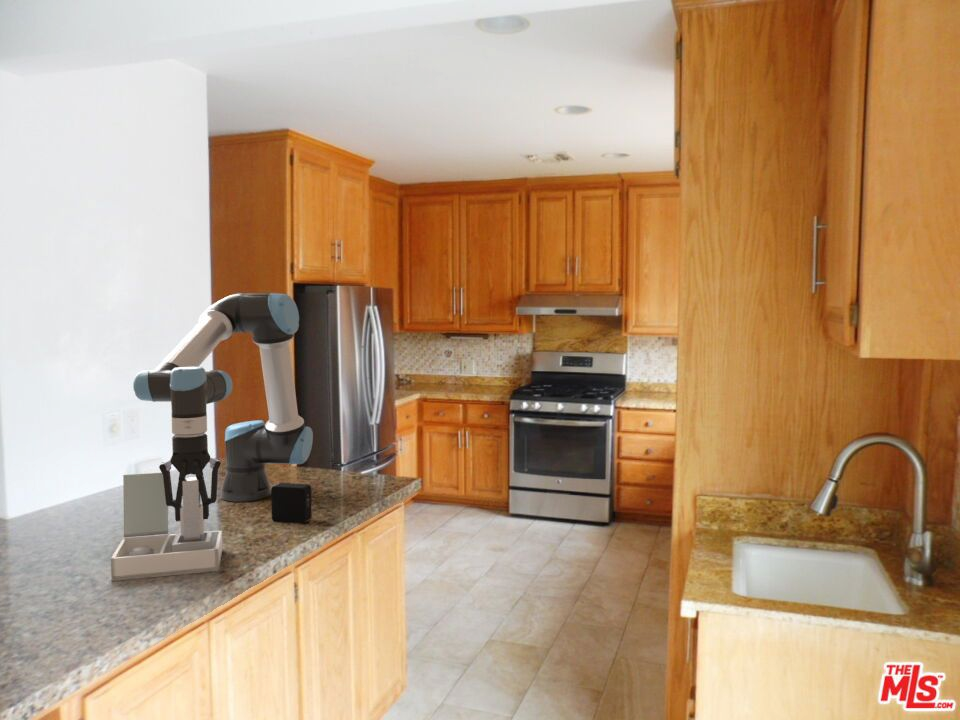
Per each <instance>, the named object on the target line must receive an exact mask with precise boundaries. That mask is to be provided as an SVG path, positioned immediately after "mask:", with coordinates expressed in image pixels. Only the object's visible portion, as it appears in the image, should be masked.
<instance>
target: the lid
mask: <svg viewBox="0 0 960 720" xmlns="http://www.w3.org/2000/svg"><path fill="white" fill-rule="evenodd" d="M122 478H123V481H122V482H123V485H122V487H123V538H133V537H145V536H158V535H169V506H167V505H166V499H165V490H164V481H163V474H162V472H147V473H133V474H132V473H131V474H130V473H129V474H128V473H127V474H123V475H122Z"/></svg>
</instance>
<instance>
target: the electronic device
mask: <svg viewBox="0 0 960 720" xmlns="http://www.w3.org/2000/svg"><path fill="white" fill-rule="evenodd" d="M270 496H271V497H270V498H271V502H270V503H271V521H272V522H274V523H276V522H277V523H288V524H298V525H299V524H300V525H301V524H305V523H306V522H308V521H309V520H311V519H312V486H311V484H307V483H304V484H303V483H290V482H289V483H288V482H280V483H276V484H275V485H273V486H271V495H270Z"/></svg>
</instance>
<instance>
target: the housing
mask: <svg viewBox="0 0 960 720" xmlns="http://www.w3.org/2000/svg"><path fill="white" fill-rule="evenodd" d="M201 538H202V541H195V542H184V536H181V532H180V533H173V534H172V533H171V534H161V535H149V536H136V537H123V538H122V539H121V541H120V543H119V545H118V546H117V548H116V549H115V551H114V553H113V554H112V556H111V557H110V570H111V571H110V574H111V582H115V581H117V582H118V581H127V580H136V579H138V580H140V579H147V578H148V579H149V578H157V577H168V576H170V577H171V576H179V575H190V574H200V573H211V572H212V573H213V572H219V571H220V567H221V561H222V560H221V559H222V555H223V551H224V550H223V549H224V548H223V530H204V534H202V535H201Z"/></svg>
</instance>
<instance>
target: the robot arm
mask: <svg viewBox="0 0 960 720" xmlns="http://www.w3.org/2000/svg"><path fill="white" fill-rule="evenodd" d="M299 313H300V312H299V309H298V306H297V303H296V302H295V300H294V299H293V298H292V297H291V296H290V295H289V294H286V293H277V292H262V293H261V292H258V293H257V292H256V293H253V292H252V293H251V292H249V293H245V292H239V293H238V292H237V293H234V294H230V295H228V296H225V297H224V298H222V299H220V300H218V301H217V302H214V303H213V304H211V305H210V306H209V307H208V308H207V309H206V310H205V311H203V313H202V314H201V315H200V317H199V318H198V323H197V324H196V325H195V326H194V328H193V329H192V330H191V331H190V332H189V333H188V334H187V335H186V336H185V337H184V338H183V339H182V340H181V341H180V342H179V344H177V345H176V347H175V348H174V349H172V351H171V352H170V353H169V354H168V355H167V356H166V357H165V358H164V359H163V361H161V363H159V365H157V366H156V367H155V369H153V370H152V369H147V370H141V371H139V372H138V373H137V374H136V375H135V377H134V380H133V383H132V384H133V387H132V388H133V391H134V394H135V397H136V398H138V399H139V400H140V401H146V402H153V403H155V402H158V403H161V402H162V403H163V402H164V403H165V402H166V403H167V402H168V403H169V402H171V403H170V405H171V406H170V407H171V433H172V434H173V436H172V438H171V439H172V440H171V441H172V443H171V444H172V456H171V458H170V460H167V461H165V462H164V461H163V462H161V463H160V464H159V466H158V468H159V470H160V473H162V474H163V481H164V490H165V499H166V505H167V506H168V507H173V508H174V516H175V517H174V518H175V519H174V520H175V521H176V522H180V533H181V536H184V517H183V485H182V481H184V480H185V478H187V476H188V475H195V477H196V478H197V480H199V491H200V501H201V503H200V507H199V515H200V535H202V534H204V531H205V520H209V516H210V506H209V505H211V504H214V503H216V502H217V498H218V484H219V483H218V479H219V478H218V476H219V469H220V466H221V463H222V460H221V459H219V458H218V459H216V458H213V457H211V455H210V454H209V450H208V448H209V447H208V435H207V434H206V433H207V431H208V415H207V405H208V404H212V403H219V402H221V401H222V400H224V399H226V398H227V397H229V396H230V394H231V393H232V392H233V381H232V380H233V379H232V378H231V376H230V375H229V374H228V373H227V372H225V371H224V370H215V369H214V370H213V369H211V370H209V371H206V370H205V368H204V367H201V364H203V362H204V361H205V360H206V359H207V358H208V357H209V355H210V354H211V353H212V352H213V351H214V350H215V348H216V347H217V346H218V345H219V344H220V343H221V342H222V341H225V340H227V339H229V338H230V337H231V336H232V335H235V334H251V337H252V342H253V344H255V345H256V346H257V347H259V354H260V362H261V371H262V375H263V383H264V391H265V397H266V404H267V412H268V413H267V414H268V420H267V421H266V423H265V422H264V420H261V419H260V420H259V419H257V420H249V421H243V422H238V423H237V422H236V423H233V424H231V425H229V426H227V427H226V428H225V433H224V434H225V435H224V445H225V446H224V447H225V450H224V451H225V471H226V472H225V475H224V479H223V482H222V485H221V488H220V499H222V500H223V501H226V502H227V501H228V502H234V503H235V502H236V503H238V502H240V503H241V502H252V501H253V502H254V501H258V500H262V499H266V498H268V497H269V496H271V488H272V485H271V482H270V480H269V476H268V474H267V471H266V464H269V465H273V464H274V465H289V466H292V465H303V464H304V463H305V462H306V461H307V460H308V459H309V456H310V454H311V450H312V448H313V447H312V446H313V441H314V433H313V429H312V428H311V427H310V426H306V425H305V420H304V418H303V417H302V416H300V415H299V413H298V412H299V411H298V404H297V403H298V402H297V396H296V388H295V387H296V386H295V378H294V370H293V363H292V355H291V347H290V342H291V341H292V340H294V338H295V337H294V334H295V333H296V332H298V331H299V328H300V327H299V326H300V323H299V322H300V314H299ZM208 463H209V467H210V469H212V471H211V483H210V485H211V486H210V496H208V491H207V486H206V482H205V477H204V471H203V470H204V469H205V468H206V466H207V465H208ZM172 467H174V468H175V469H176V470H177V471H178V473H179V475H178V482H177V488H176V493H175V494H176V495H175V499H174V496H173V489H172V488H173V486H172V479H171V470H172Z"/></svg>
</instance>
